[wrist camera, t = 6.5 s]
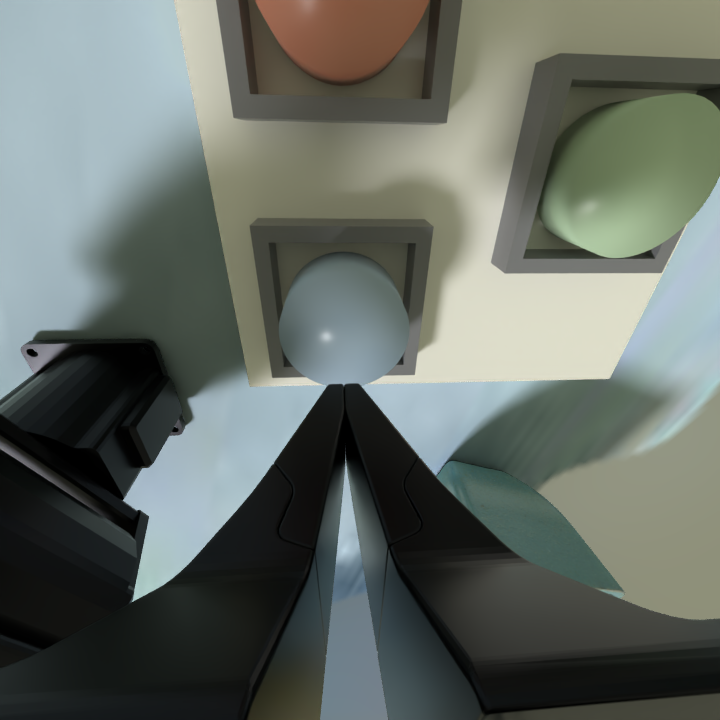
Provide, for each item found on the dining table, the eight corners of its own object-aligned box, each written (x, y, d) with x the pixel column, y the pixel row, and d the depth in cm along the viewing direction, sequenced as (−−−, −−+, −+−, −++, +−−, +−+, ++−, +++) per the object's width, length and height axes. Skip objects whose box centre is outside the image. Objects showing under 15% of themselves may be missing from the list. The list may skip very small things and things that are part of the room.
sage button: (521, 241, 14) (553, 257, 12) (558, 99, 12) (607, 90, 10) (629, 241, 15) (677, 258, 13) (688, 103, 12) (762, 95, 10)
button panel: (255, 370, 19) (243, 405, 17) (137, -286, 9) (55, -463, 6) (592, 364, 21) (628, 395, 18) (861, -219, 10) (1044, -345, 7)
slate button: (292, 356, 16) (285, 389, 14) (281, 251, 13) (270, 271, 11) (394, 354, 16) (403, 386, 14) (403, 251, 14) (416, 272, 11)
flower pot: (543, 459, 25) (633, 596, 17) (480, 526, 29) (530, 659, 22) (438, 432, 23) (489, 575, 15) (387, 509, 27) (406, 650, 20)
